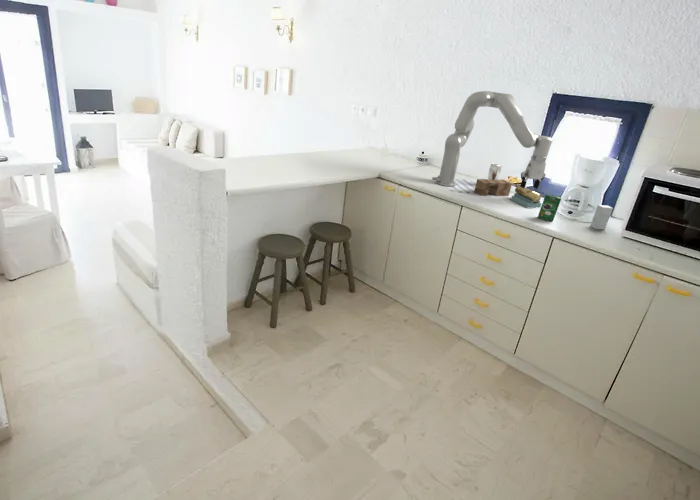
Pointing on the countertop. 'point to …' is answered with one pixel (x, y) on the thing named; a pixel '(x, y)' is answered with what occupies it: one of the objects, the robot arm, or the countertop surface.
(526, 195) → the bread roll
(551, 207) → the coffee box
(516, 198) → the v block
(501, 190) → the beam
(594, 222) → the skincare box
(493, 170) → the beer glass
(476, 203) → the countertop surface
